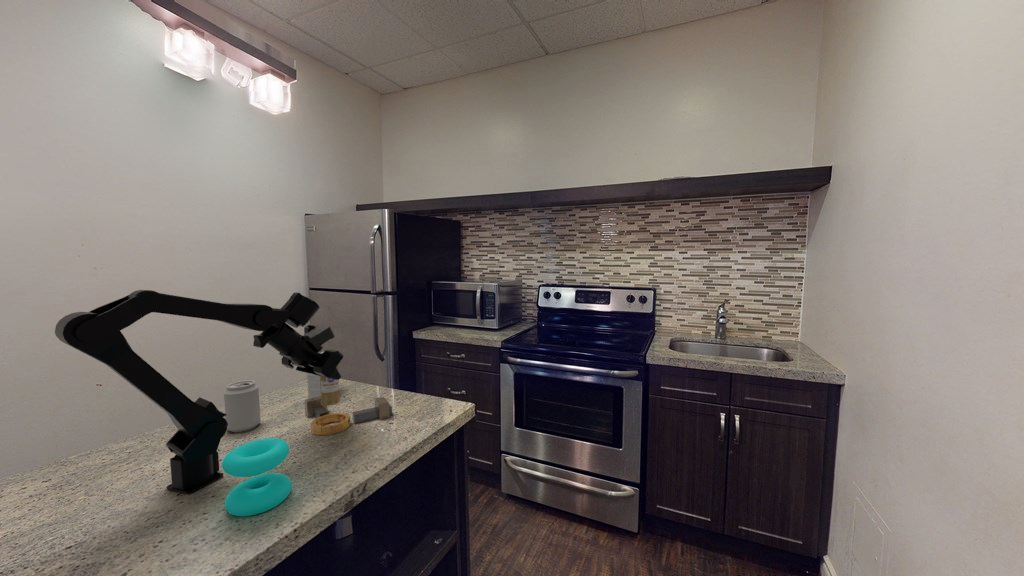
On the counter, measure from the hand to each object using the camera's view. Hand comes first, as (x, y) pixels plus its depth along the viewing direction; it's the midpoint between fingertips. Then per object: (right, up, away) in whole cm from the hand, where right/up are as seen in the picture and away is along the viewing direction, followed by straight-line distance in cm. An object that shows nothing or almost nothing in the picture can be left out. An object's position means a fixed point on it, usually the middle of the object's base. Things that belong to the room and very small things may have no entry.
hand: (334, 376), depth 99 cm
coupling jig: (-1, -13, +4) cm, 14 cm away
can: (-25, -14, +1) cm, 28 cm away
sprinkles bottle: (-1, -7, -1) cm, 7 cm away
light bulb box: (-15, -12, +24) cm, 31 cm away
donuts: (+1, -15, -31) cm, 35 cm away
